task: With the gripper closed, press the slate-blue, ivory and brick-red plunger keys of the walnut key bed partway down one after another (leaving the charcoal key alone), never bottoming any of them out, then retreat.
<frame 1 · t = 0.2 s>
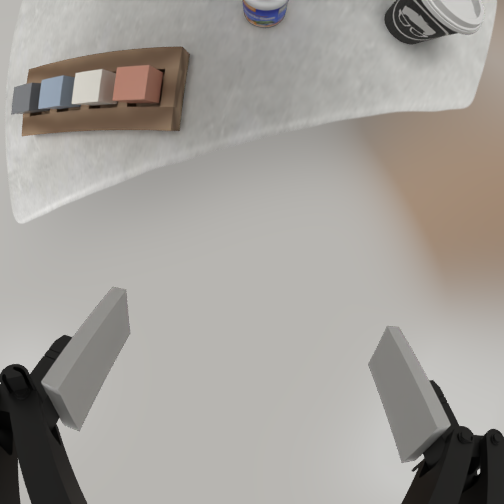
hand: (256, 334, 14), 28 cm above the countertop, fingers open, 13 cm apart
coffee cup: (403, 25, 28), on the countertop
key bed: (100, 93, 33), on the countertop
key ivory: (96, 88, 28), point 6 cm above the countertop, slide at 0.0 cm
key charcoal: (32, 98, 27), point 6 cm above the countertop, slide at 0.0 cm
key brick: (138, 85, 28), point 6 cm above the countertop, slide at 0.0 cm
key blue: (61, 93, 27), point 6 cm above the countertop, slide at 0.0 cm
pill bottle: (264, 12, 29), on the countertop
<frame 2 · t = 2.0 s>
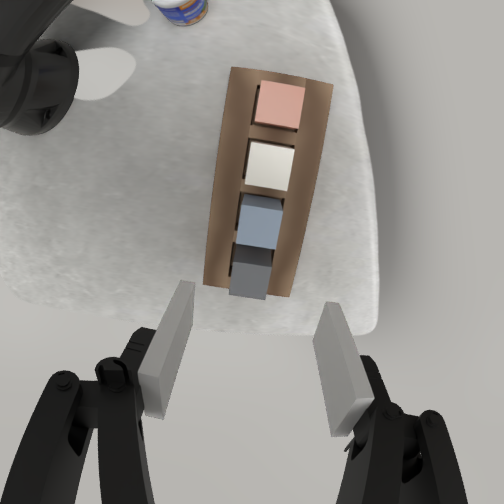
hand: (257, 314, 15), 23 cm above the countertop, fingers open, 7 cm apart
key bed: (263, 182, 35), on the countertop
key ivory: (268, 163, 28), point 6 cm above the countertop, slide at 0.0 cm
key charcoal: (250, 270, 33), point 6 cm above the countertop, slide at 0.0 cm
key brick: (278, 106, 26), point 6 cm above the countertop, slide at 0.0 cm
key blue: (259, 220, 31), point 6 cm above the countertop, slide at 0.0 cm
pill bottle: (187, 10, 26), on the countertop
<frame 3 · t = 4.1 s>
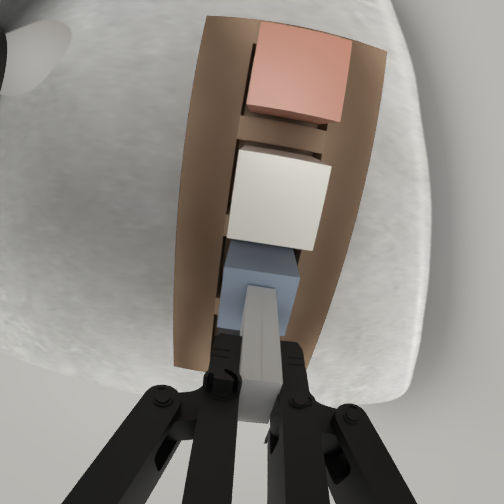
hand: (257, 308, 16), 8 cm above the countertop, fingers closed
key bed: (264, 213, 22), on the countertop
key ivory: (275, 190, 15), point 6 cm above the countertop, slide at 0.0 cm
key charcoal: (242, 361, 20), point 6 cm above the countertop, slide at 0.0 cm
key brick: (294, 78, 13), point 6 cm above the countertop, slide at 0.0 cm
key blue: (256, 282, 18), point 5 cm above the countertop, slide at 1.1 cm, touching gripper
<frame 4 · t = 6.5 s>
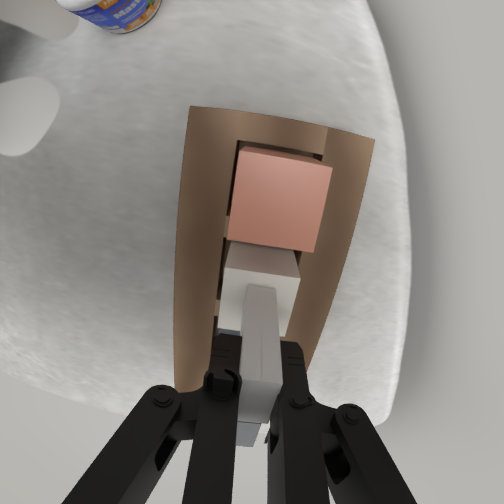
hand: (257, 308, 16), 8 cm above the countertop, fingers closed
key bed: (252, 284, 24), on the countertop
key ivory: (257, 282, 18), point 5 cm above the countertop, slide at 1.2 cm, touching gripper
key charcoal: (233, 410, 22), point 6 cm above the countertop, slide at 0.0 cm
key brick: (275, 192, 15), point 6 cm above the countertop, slide at 0.0 cm
key blue: (244, 351, 21), point 5 cm above the countertop, slide at 1.2 cm
pill bottle: (132, 7, 15), on the countertop
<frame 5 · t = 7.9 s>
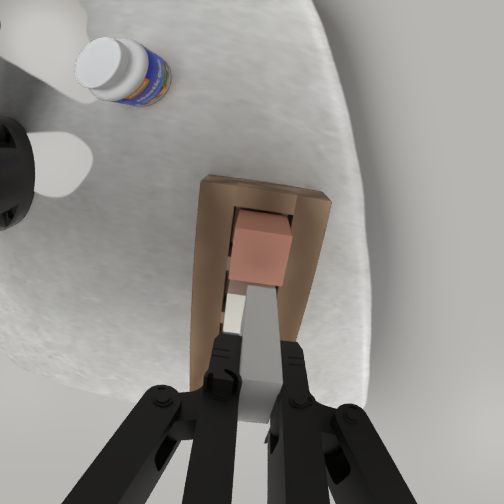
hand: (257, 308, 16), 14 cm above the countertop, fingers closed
key bed: (247, 299, 32), on the countertop
key ivory: (249, 300, 27), point 5 cm above the countertop, slide at 1.2 cm
key brick: (259, 245, 23), point 6 cm above the countertop, slide at 0.0 cm
key blue: (241, 348, 29), point 5 cm above the countertop, slide at 1.2 cm
pill bottle: (147, 80, 23), on the countertop
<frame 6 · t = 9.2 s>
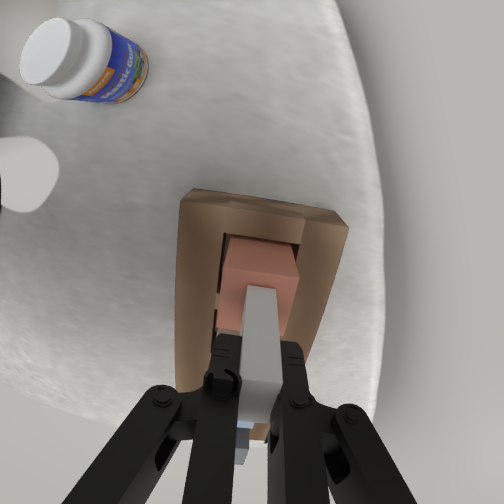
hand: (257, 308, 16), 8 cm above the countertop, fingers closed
key bed: (241, 334, 27), on the countertop
key ivory: (243, 344, 21), point 5 cm above the countertop, slide at 1.2 cm
key charcoal: (226, 435, 25), point 6 cm above the countertop, slide at 0.0 cm
key brick: (256, 282, 18), point 6 cm above the countertop, slide at 0.4 cm, touching gripper
key blue: (234, 392, 24), point 5 cm above the countertop, slide at 1.2 cm
pill bottle: (119, 72, 18), on the countertop
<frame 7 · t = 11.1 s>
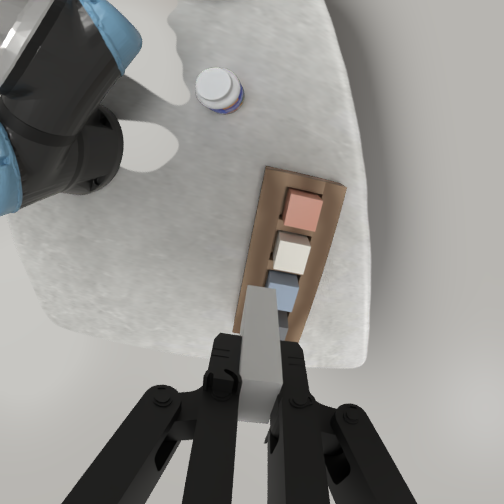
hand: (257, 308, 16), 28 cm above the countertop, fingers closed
key bed: (283, 256, 45), on the countertop
key ivory: (290, 250, 40), point 5 cm above the countertop, slide at 1.2 cm
key charcoal: (271, 326, 43), point 6 cm above the countertop, slide at 0.0 cm
key brick: (301, 208, 37), point 5 cm above the countertop, slide at 1.2 cm
key blue: (280, 288, 42), point 5 cm above the countertop, slide at 1.2 cm
pill bottle: (225, 96, 37), on the countertop
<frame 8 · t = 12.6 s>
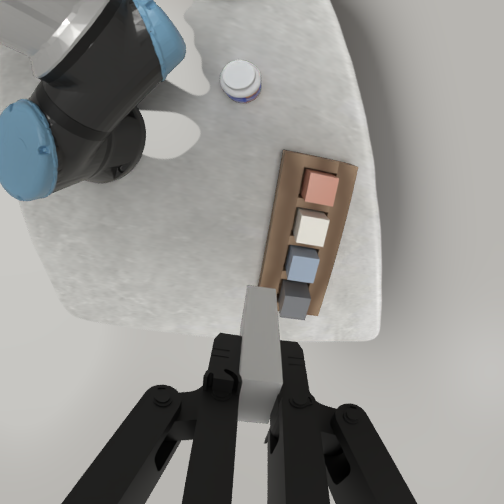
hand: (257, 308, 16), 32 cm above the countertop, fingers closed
key bed: (301, 233, 48), on the countertop
key ivory: (310, 225, 42), point 5 cm above the countertop, slide at 1.2 cm
key charcoal: (293, 299, 46), point 6 cm above the countertop, slide at 0.0 cm
key brick: (318, 186, 40), point 5 cm above the countertop, slide at 1.2 cm
key blue: (301, 262, 45), point 5 cm above the countertop, slide at 1.2 cm
pill bottle: (243, 86, 39), on the countertop
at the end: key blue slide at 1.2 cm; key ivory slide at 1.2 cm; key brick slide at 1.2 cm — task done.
